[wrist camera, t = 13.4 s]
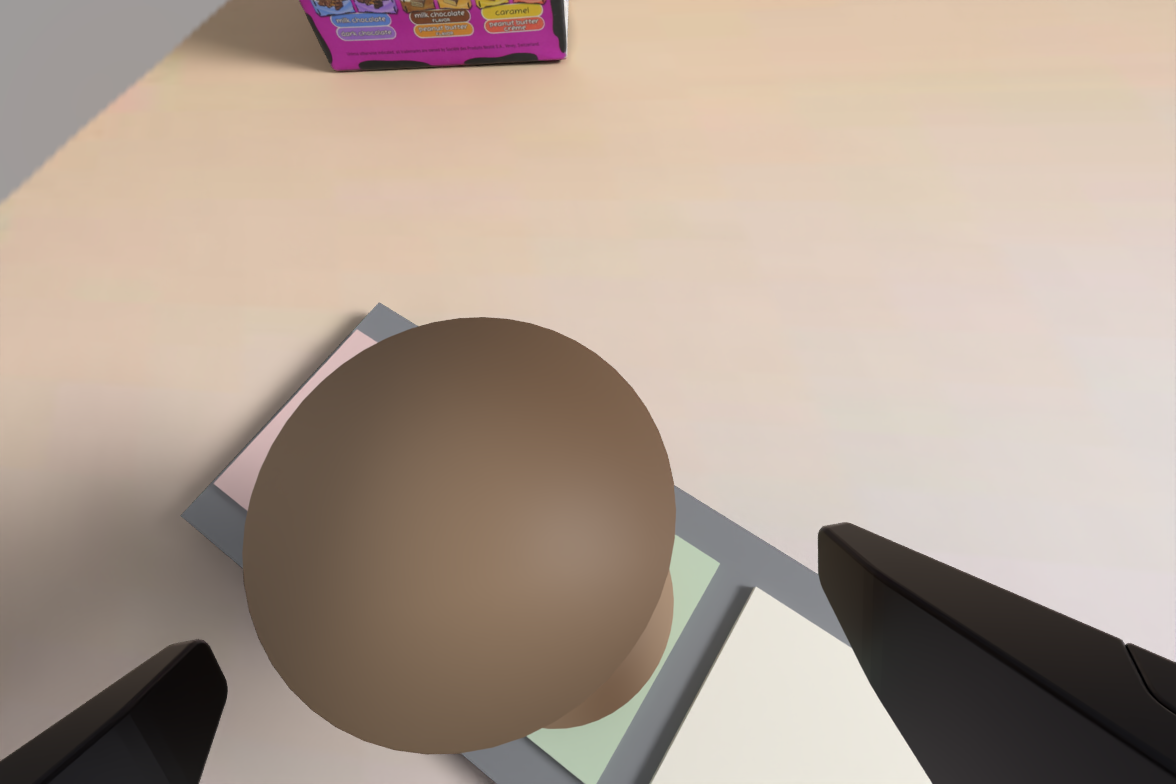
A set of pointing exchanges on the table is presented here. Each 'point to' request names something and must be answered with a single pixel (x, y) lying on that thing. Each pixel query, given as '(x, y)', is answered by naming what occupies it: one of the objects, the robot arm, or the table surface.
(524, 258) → the table surface
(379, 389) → the brown wooden peg
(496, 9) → the candy bar box
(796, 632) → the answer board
